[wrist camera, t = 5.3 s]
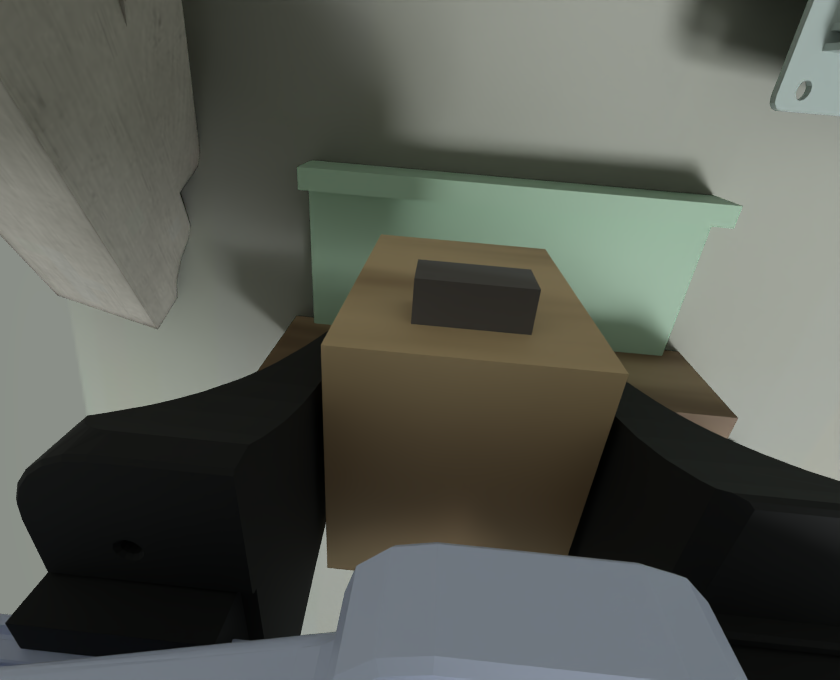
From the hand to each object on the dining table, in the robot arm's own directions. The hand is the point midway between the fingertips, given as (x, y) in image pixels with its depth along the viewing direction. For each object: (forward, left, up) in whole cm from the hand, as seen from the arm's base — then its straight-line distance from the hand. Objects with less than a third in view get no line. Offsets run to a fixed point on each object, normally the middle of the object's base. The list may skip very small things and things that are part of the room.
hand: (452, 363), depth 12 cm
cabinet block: (0, 0, -2) cm, 2 cm away
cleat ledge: (0, -2, -9) cm, 9 cm away
